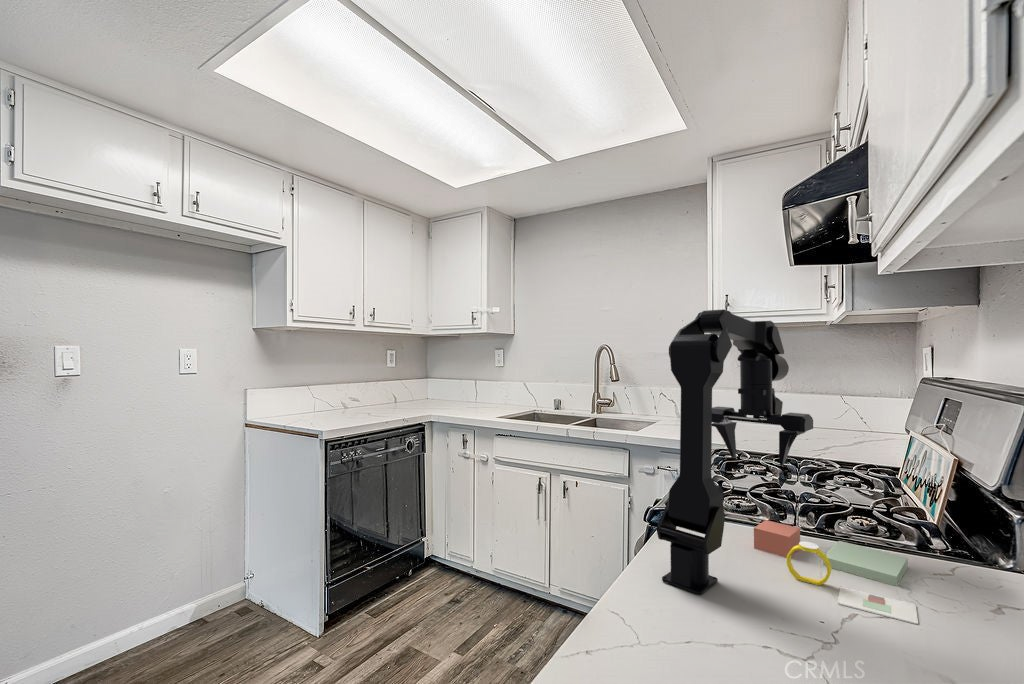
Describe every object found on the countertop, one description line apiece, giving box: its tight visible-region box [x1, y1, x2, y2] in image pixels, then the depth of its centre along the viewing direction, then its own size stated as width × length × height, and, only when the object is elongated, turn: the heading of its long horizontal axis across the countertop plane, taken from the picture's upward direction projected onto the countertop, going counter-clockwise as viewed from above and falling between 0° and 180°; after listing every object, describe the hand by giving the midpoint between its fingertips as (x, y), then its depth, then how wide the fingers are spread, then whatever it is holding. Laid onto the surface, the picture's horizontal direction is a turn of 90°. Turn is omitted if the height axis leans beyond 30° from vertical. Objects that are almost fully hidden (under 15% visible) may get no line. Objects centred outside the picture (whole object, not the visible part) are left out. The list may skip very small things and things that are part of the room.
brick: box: [753, 519, 801, 559], centre depth 90 cm, size 6×6×4 cm
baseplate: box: [822, 540, 909, 587], centre depth 83 cm, size 10×10×2 cm
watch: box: [786, 541, 832, 587], centre depth 78 cm, size 6×3×6 cm, turn 49°
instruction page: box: [837, 586, 919, 626], centre depth 70 cm, size 6×9×1 cm, turn 53°
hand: (757, 461), depth 97 cm, fingers open, 9 cm apart
